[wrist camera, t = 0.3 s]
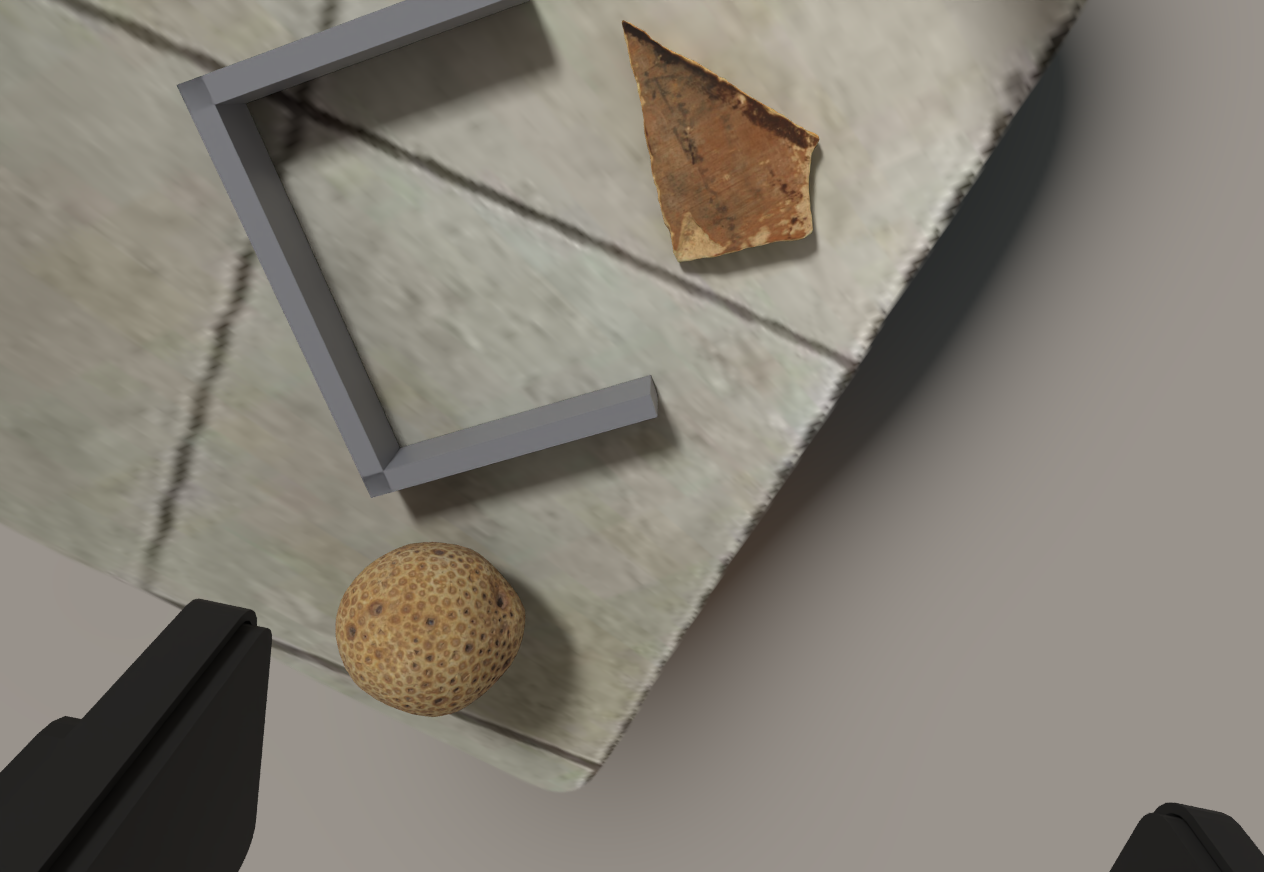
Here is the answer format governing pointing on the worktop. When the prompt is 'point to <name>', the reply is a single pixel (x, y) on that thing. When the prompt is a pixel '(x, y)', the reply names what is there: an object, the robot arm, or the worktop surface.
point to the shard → (718, 156)
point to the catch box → (303, 290)
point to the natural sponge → (429, 628)
